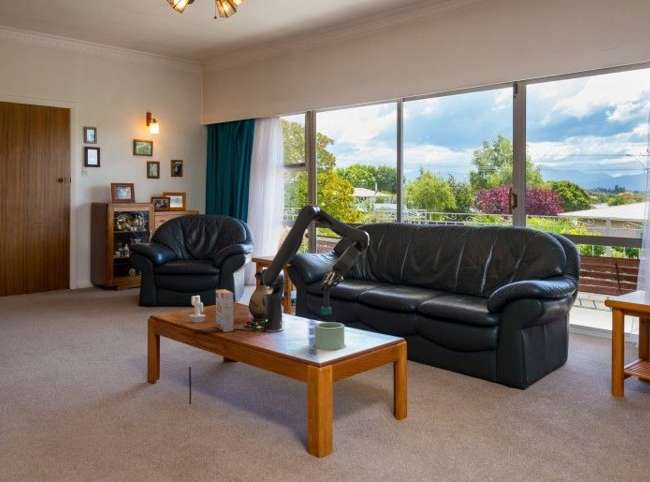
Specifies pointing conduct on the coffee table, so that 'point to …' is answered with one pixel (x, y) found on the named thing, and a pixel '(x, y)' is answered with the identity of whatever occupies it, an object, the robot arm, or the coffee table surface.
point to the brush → (326, 302)
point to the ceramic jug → (258, 299)
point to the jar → (329, 335)
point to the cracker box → (224, 310)
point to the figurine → (197, 310)
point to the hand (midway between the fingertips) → (323, 291)
